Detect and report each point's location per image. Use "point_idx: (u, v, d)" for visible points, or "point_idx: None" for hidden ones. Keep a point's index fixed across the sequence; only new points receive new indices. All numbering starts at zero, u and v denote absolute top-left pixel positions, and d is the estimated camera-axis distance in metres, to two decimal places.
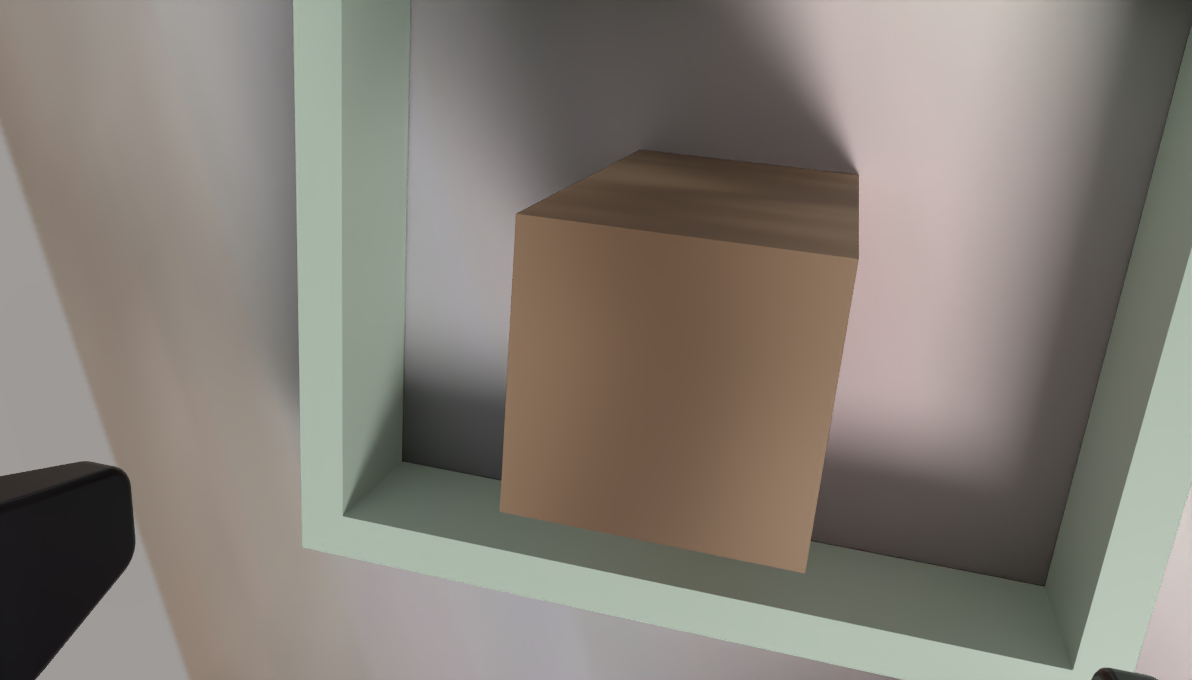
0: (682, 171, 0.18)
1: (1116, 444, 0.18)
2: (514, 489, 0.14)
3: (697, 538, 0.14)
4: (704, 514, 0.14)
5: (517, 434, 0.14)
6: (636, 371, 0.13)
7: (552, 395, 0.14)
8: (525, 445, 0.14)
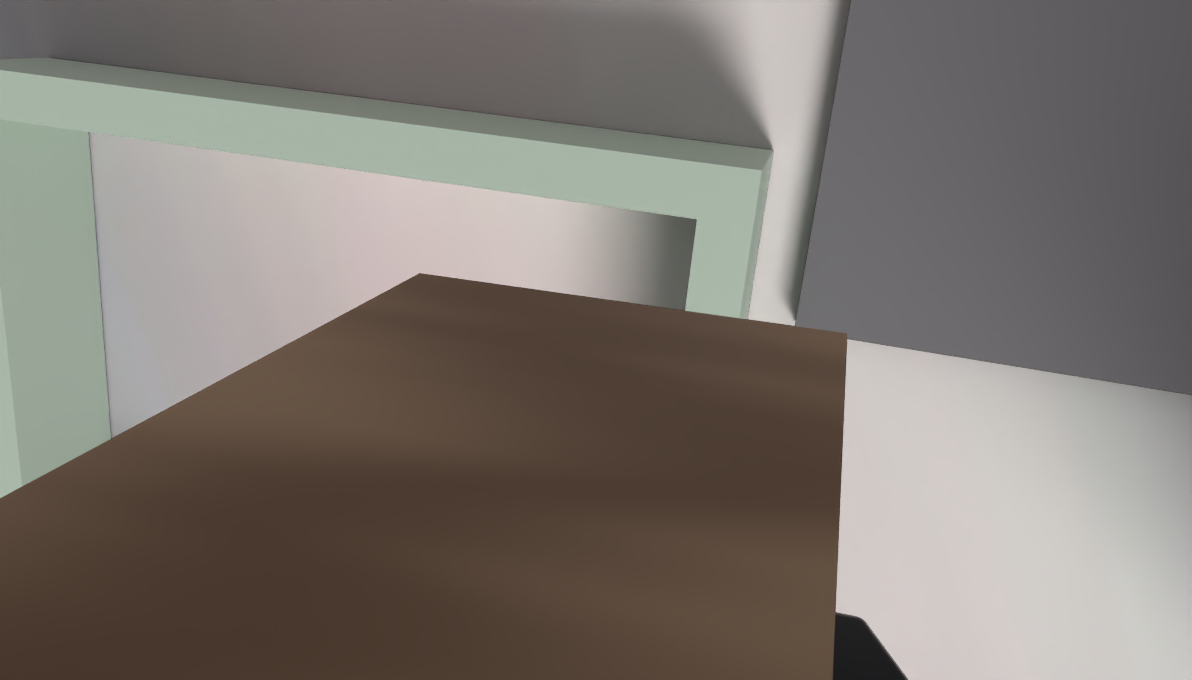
0: (447, 358, 0.08)
1: None
2: None
3: None
4: None
5: None
6: None
7: None
8: None
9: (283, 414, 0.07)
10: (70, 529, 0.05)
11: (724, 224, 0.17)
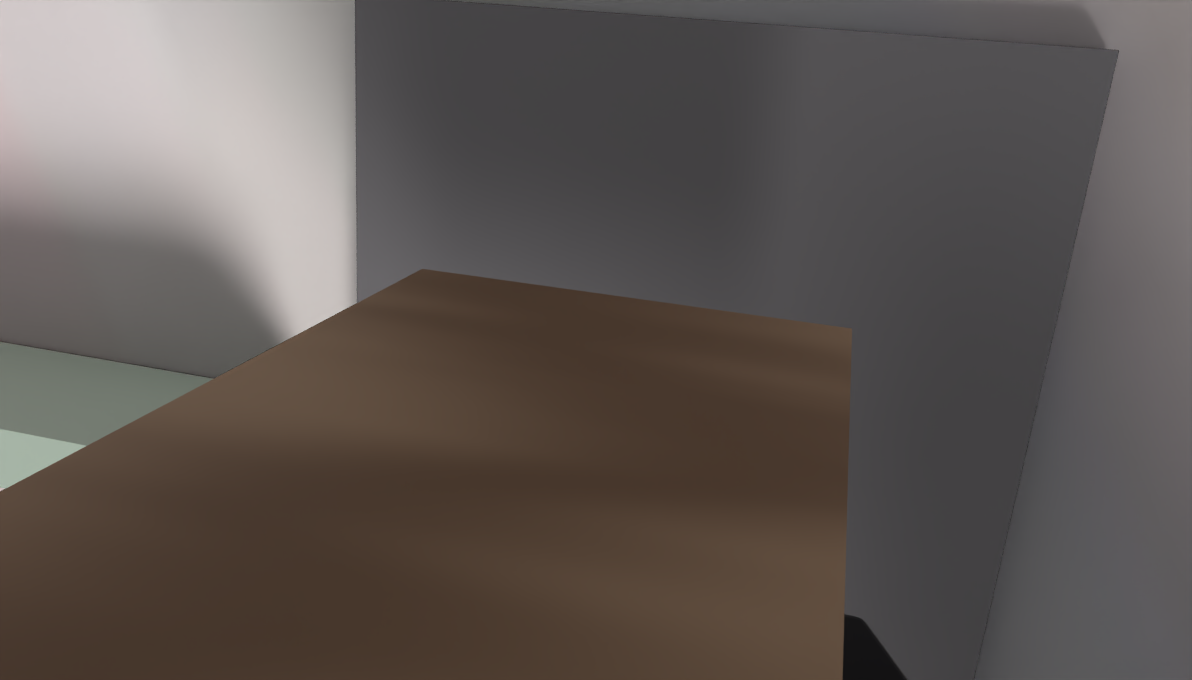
0: (450, 353, 0.08)
1: None
2: None
3: None
4: None
5: None
6: None
7: None
8: None
9: (286, 408, 0.07)
10: (72, 522, 0.05)
11: None
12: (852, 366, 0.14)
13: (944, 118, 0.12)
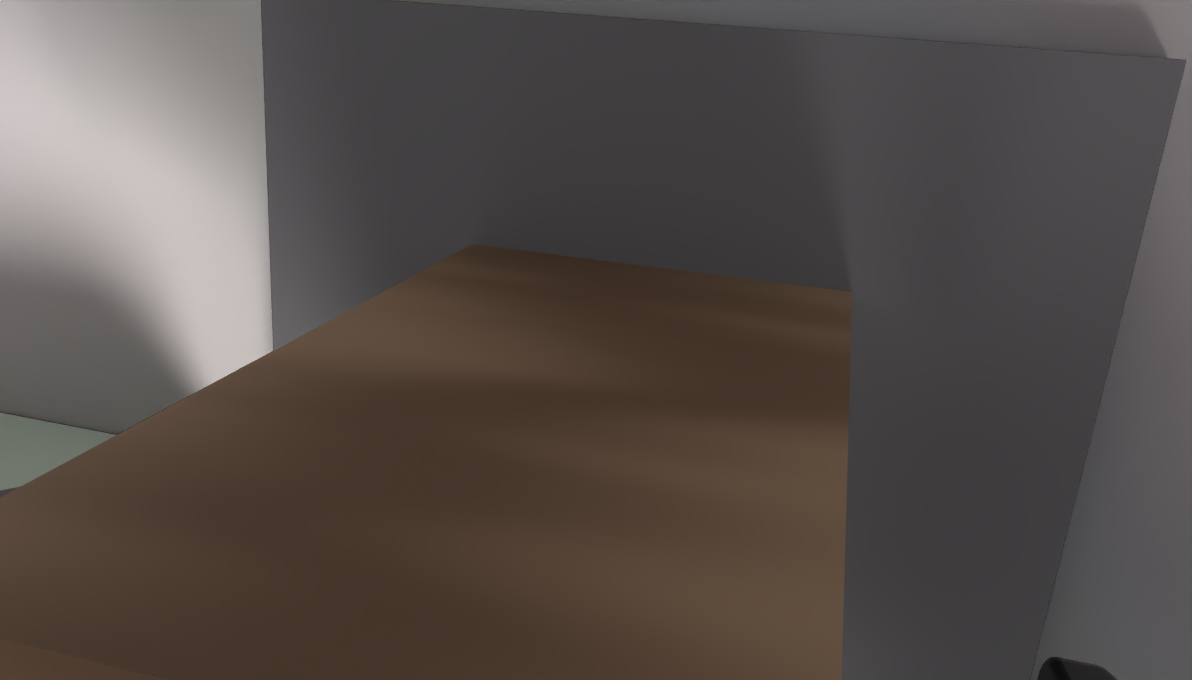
0: (509, 309, 0.09)
1: None
2: None
3: None
4: None
5: None
6: None
7: None
8: None
9: (383, 348, 0.08)
10: (238, 423, 0.06)
11: None
12: (854, 437, 0.11)
13: (967, 142, 0.10)
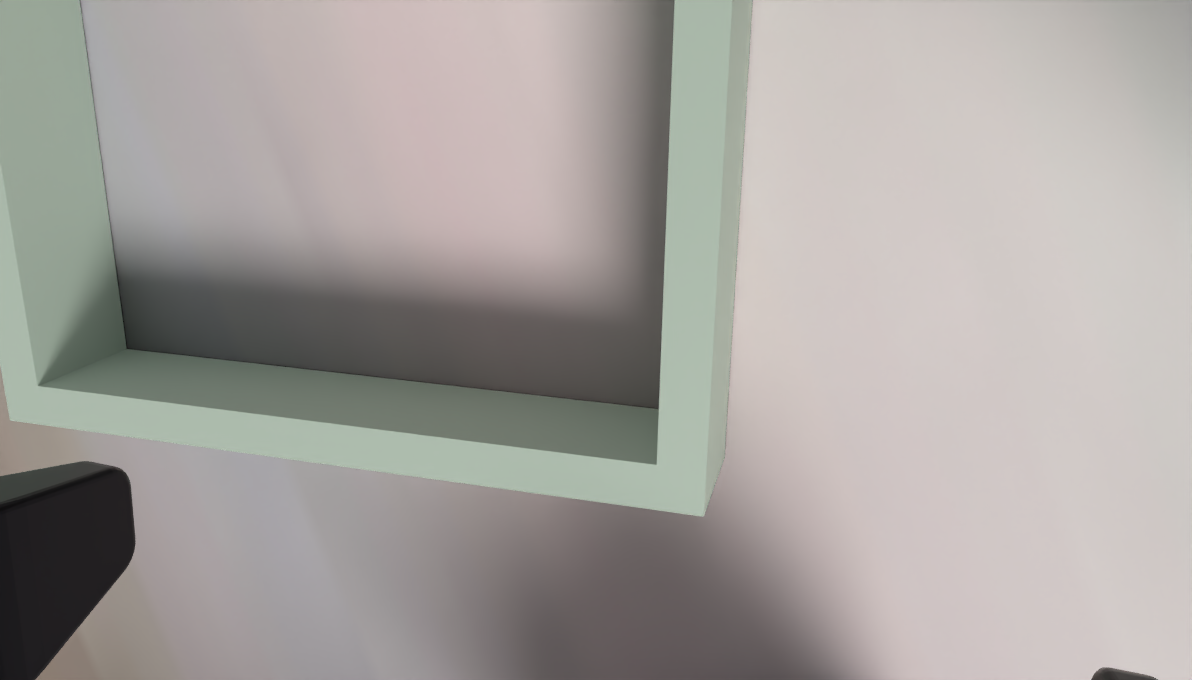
0: None
1: None
2: None
3: None
4: None
5: None
6: None
7: None
8: None
9: None
10: None
11: None
12: None
13: None
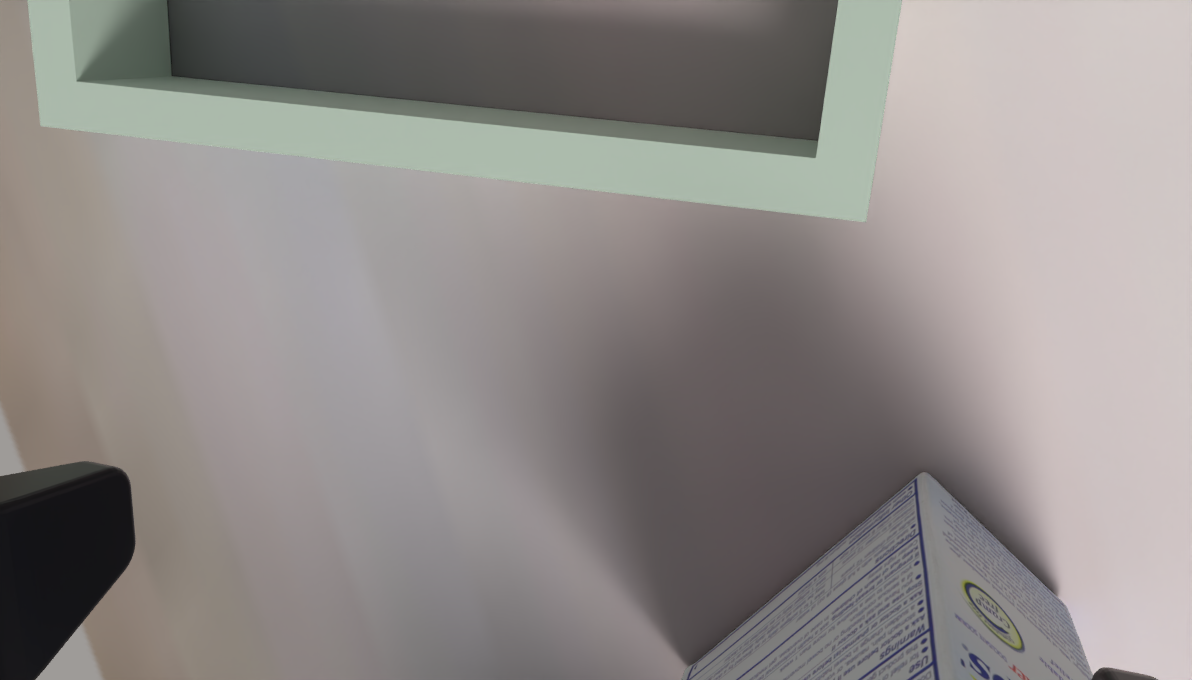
0: None
1: None
2: None
3: None
4: None
5: None
6: None
7: None
8: None
9: None
10: None
11: None
12: None
13: None
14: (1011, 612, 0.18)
